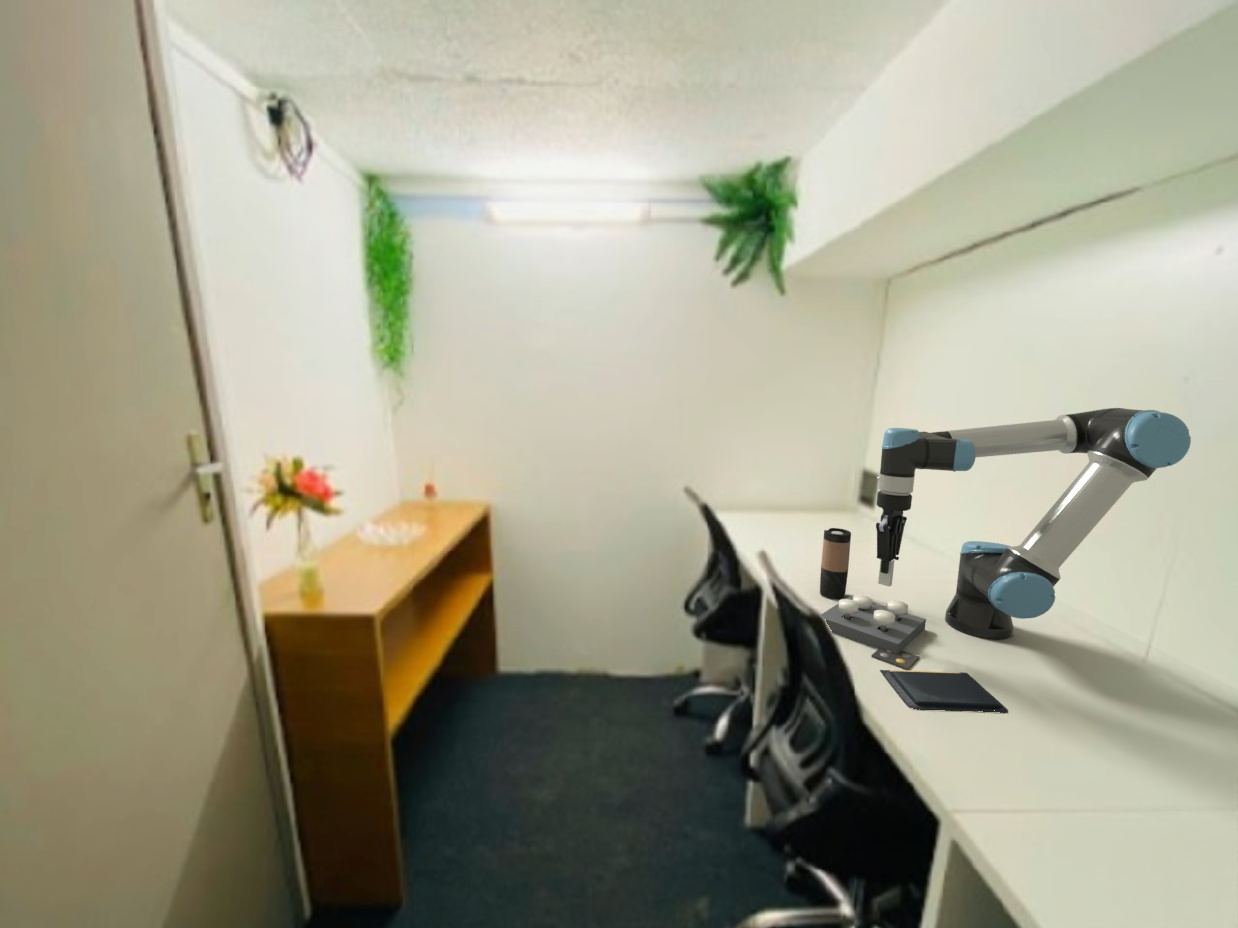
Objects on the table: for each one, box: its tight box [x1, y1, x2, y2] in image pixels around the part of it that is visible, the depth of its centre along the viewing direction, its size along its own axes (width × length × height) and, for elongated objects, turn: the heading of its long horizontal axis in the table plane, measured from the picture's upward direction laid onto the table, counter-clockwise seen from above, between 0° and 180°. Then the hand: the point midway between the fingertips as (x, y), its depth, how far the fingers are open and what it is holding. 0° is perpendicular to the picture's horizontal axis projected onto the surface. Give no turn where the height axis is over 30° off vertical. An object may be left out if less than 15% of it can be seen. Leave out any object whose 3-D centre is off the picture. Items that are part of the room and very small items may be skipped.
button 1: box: [886, 599, 909, 621], centre depth 142 cm, size 5×5×5 cm
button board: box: [820, 595, 927, 654], centre depth 143 cm, size 20×20×3 cm
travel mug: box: [819, 527, 852, 601], centre depth 163 cm, size 8×8×20 cm
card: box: [871, 648, 920, 671], centre depth 128 cm, size 8×8×1 cm
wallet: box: [879, 669, 1009, 714], centre depth 115 cm, size 20×2×15 cm
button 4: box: [838, 598, 859, 620], centre depth 142 cm, size 5×5×5 cm
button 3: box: [852, 594, 873, 610], centre depth 149 cm, size 5×5×5 cm
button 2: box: [873, 610, 895, 632], centre depth 136 cm, size 5×5×5 cm
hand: (884, 584), depth 135 cm, fingers closed
